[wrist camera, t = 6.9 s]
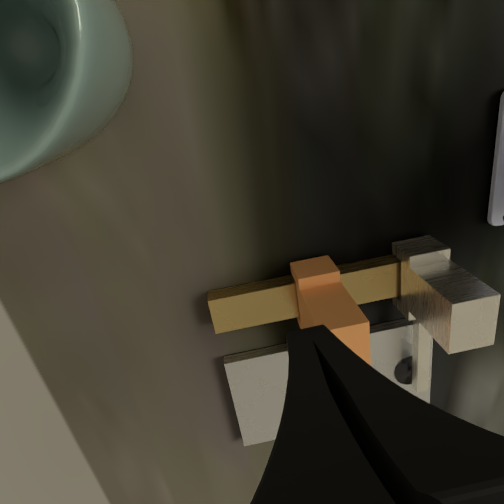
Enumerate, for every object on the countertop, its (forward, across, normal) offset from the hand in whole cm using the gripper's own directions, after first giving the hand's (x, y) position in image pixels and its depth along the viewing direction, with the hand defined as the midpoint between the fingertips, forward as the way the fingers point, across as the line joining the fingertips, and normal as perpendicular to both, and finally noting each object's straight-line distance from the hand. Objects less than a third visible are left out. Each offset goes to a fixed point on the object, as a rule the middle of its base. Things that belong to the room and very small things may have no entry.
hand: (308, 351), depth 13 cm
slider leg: (+10, -2, +7) cm, 13 cm away
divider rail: (+10, -3, +7) cm, 13 cm away
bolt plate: (+10, -3, +12) cm, 16 cm away
